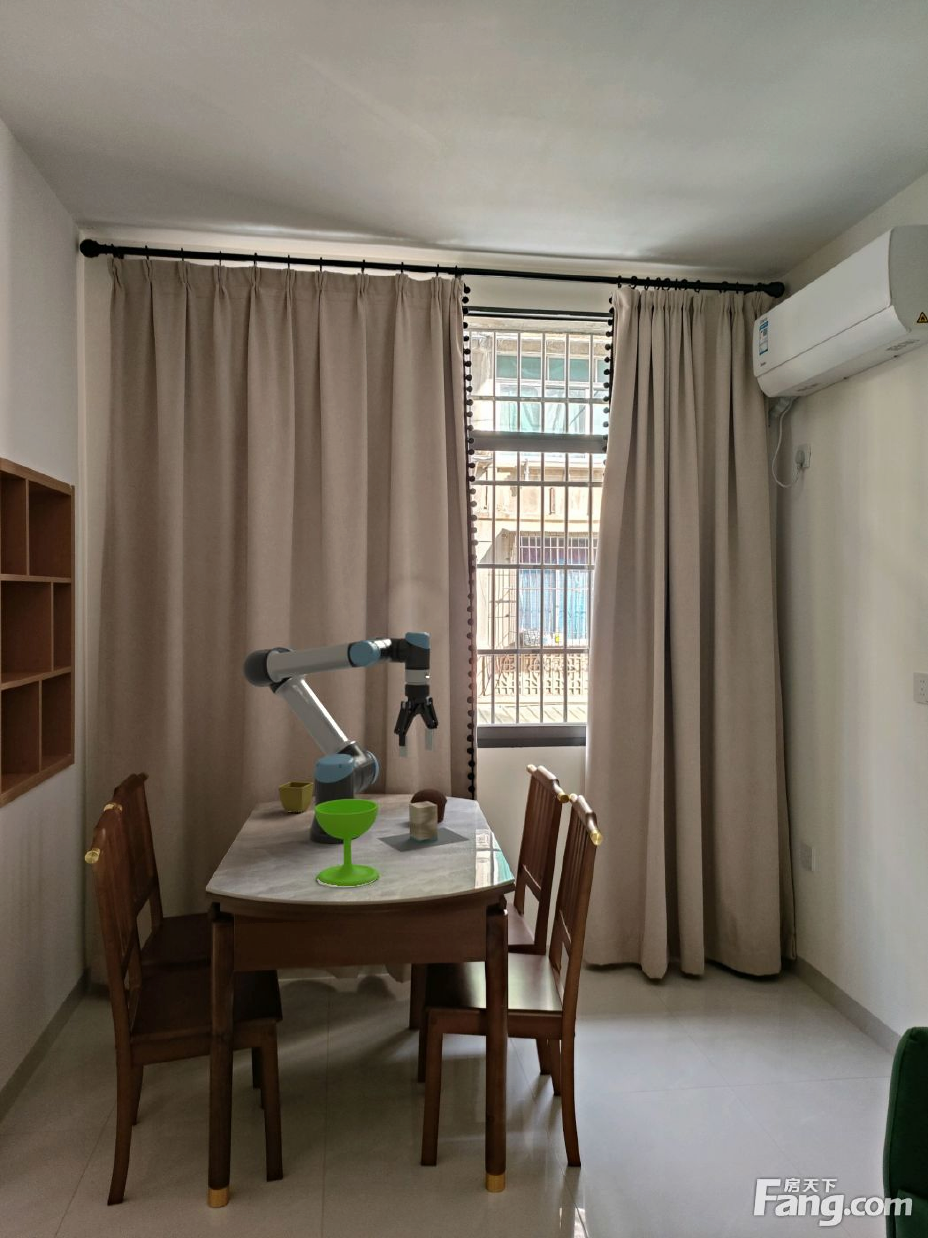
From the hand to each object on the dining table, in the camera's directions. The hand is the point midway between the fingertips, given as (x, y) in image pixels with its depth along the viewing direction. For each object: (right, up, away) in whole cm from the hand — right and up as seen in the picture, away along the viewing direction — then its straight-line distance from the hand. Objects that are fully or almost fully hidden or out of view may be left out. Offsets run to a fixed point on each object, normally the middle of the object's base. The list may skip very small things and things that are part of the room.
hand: (416, 753), depth 260 cm
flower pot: (-41, -24, +26) cm, 54 cm away
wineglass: (-15, -25, -43) cm, 52 cm away
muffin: (+3, -23, +10) cm, 25 cm away
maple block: (+3, -23, -11) cm, 26 cm away
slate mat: (+3, -24, -11) cm, 26 cm away
